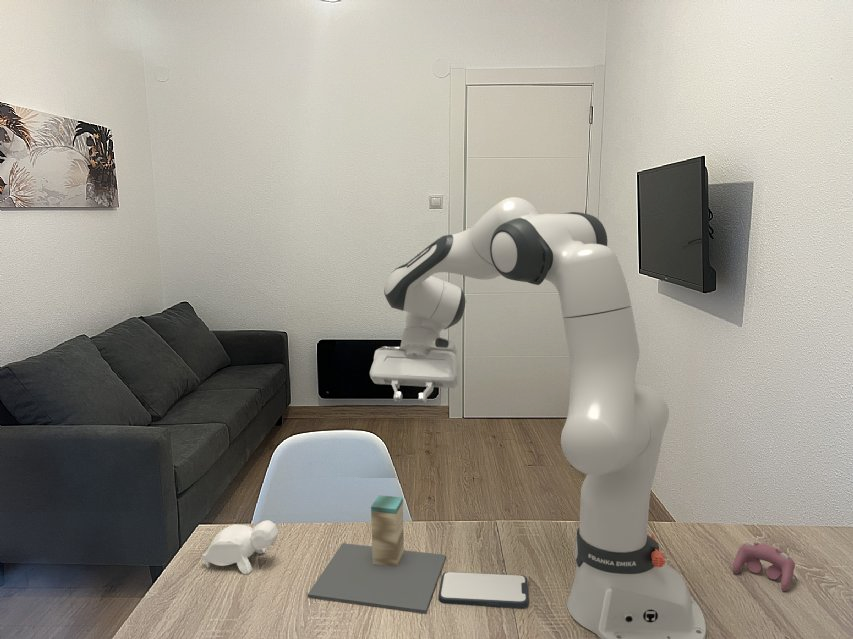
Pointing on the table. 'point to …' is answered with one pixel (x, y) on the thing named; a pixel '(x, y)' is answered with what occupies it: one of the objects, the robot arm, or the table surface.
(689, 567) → the table surface
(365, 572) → the rubber mat
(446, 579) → the smartphone
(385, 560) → the birch block
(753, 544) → the video game controller
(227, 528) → the white tortoise figurine
